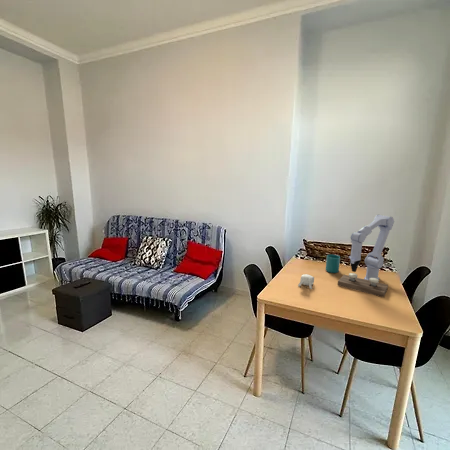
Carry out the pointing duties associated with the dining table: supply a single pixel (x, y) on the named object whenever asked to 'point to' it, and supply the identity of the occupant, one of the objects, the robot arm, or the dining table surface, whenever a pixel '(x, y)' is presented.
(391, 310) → the dining table surface
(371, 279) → the button
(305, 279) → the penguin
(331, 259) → the cup
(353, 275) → the button
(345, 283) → the console
